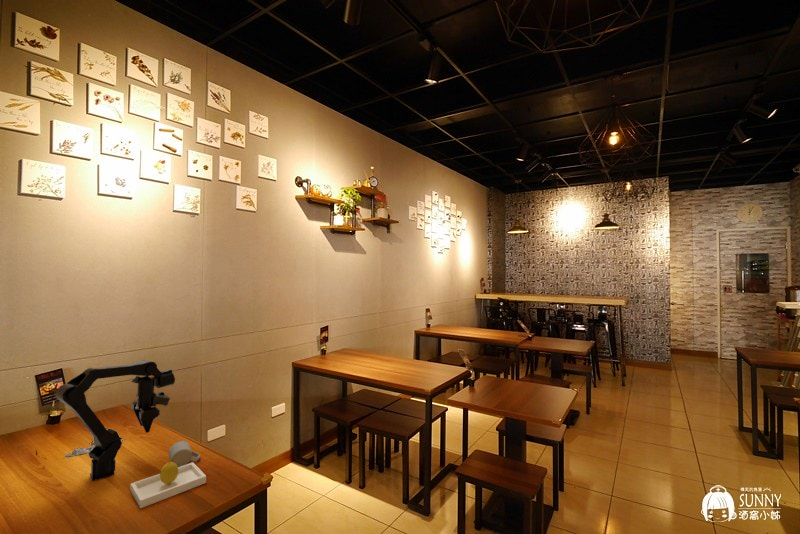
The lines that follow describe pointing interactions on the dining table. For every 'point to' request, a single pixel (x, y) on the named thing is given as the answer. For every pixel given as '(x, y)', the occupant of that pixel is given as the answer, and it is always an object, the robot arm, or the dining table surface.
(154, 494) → the tray
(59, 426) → the dining table surface
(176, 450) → the ceramic mug
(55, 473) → the dining table surface
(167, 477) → the lemon
